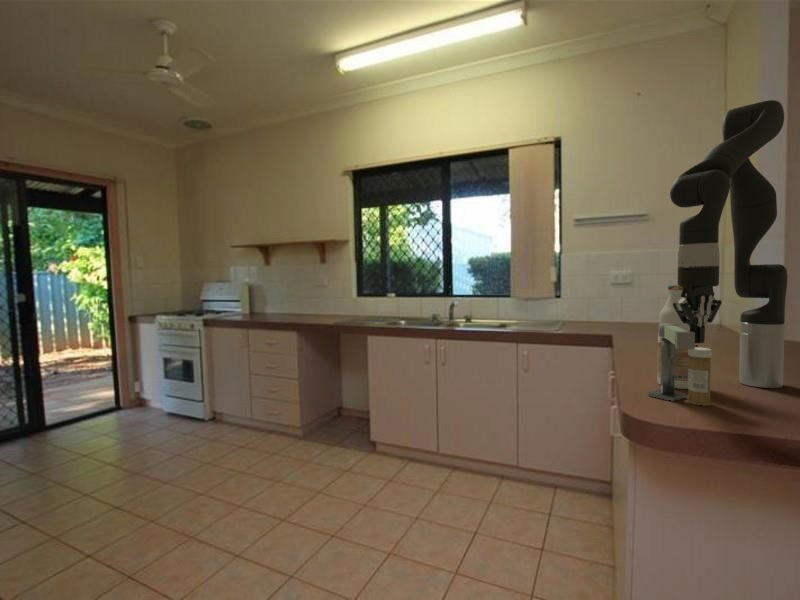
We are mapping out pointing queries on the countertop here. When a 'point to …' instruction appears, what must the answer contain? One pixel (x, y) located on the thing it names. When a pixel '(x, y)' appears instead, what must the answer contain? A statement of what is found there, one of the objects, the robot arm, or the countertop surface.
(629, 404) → the countertop surface
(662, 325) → the swing bar
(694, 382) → the sprinkles bottle
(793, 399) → the countertop surface
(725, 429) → the countertop surface
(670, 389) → the post
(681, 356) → the fruit juice
